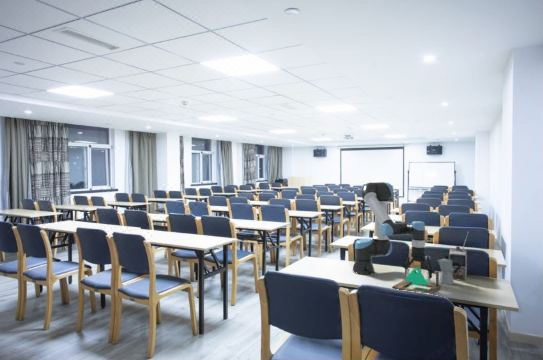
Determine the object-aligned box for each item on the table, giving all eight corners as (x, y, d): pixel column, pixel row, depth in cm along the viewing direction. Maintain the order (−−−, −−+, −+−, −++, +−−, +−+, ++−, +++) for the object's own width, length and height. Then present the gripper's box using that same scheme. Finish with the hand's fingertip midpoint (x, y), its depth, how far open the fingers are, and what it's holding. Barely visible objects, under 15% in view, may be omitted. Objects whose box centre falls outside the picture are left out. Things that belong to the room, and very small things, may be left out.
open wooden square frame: (392, 288, 226) (392, 272, 226) (405, 280, 242) (405, 265, 241) (428, 296, 211) (428, 279, 211) (440, 287, 227) (440, 271, 227)
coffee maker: (433, 282, 239) (433, 254, 238) (439, 279, 245) (439, 252, 244) (458, 287, 228) (458, 258, 228) (462, 284, 234) (463, 256, 234)
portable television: (448, 280, 243) (448, 235, 242) (449, 271, 264) (449, 230, 263) (468, 282, 237) (469, 236, 237) (468, 273, 258) (468, 231, 258)
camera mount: (429, 284, 224) (430, 267, 224) (425, 287, 218) (426, 270, 218) (410, 280, 232) (410, 264, 232) (405, 283, 226) (406, 266, 226)
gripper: (396, 244, 231) (396, 278, 231) (436, 250, 214) (436, 286, 215) (401, 243, 236) (401, 276, 236) (440, 248, 220) (440, 283, 220)
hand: (418, 281), depth 226 cm, fingers closed on camera mount, 12 cm apart
